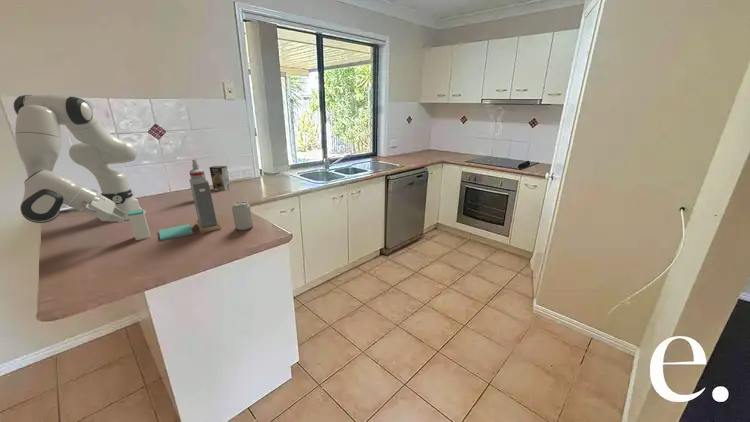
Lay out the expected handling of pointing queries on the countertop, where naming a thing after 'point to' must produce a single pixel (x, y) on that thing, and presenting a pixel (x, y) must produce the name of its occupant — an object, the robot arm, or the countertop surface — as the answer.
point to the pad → (175, 232)
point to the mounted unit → (204, 205)
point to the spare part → (139, 224)
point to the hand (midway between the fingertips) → (124, 217)
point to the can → (242, 215)
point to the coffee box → (220, 177)
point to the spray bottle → (196, 171)
